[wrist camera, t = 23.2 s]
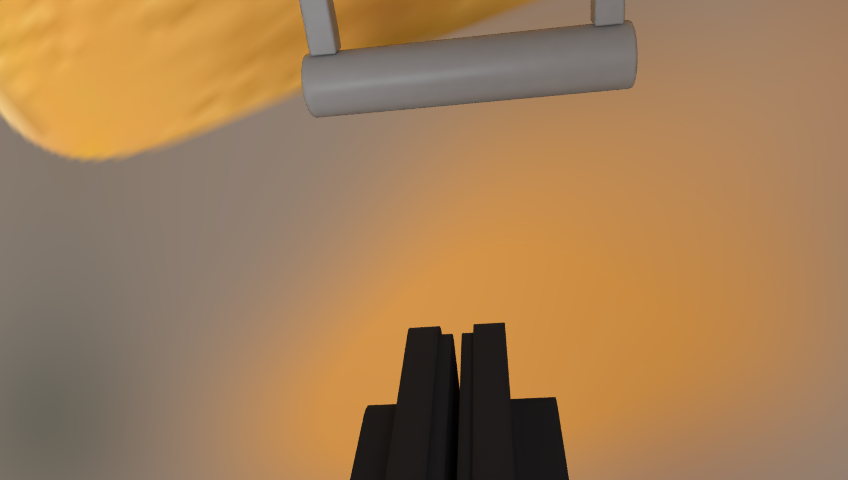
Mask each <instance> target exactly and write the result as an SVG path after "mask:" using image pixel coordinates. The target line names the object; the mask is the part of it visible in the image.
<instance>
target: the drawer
mask: <svg viewBox="0 0 848 480" xmlns="http://www.w3.org/2000/svg"><path fill="white" fill-rule="evenodd" d="M299 2H300V7H301V12H302V17H303V22H304V27H305V32H306V37H307V43H308V48H309V53H310V54H307V55H305V56H304V58H303V61H302V69H301V79H302V88H303V94H304V98H305V102H306V105H307V107H308V110H309V112H310V114H311V115H312V116H313V117H317V118H318V117H328V116H338V115H348V114H361V113H371V112H382V111H393V110H404V109H415V108H425V107H436V106H447V105H458V104H468V103H479V102H490V101H500V100H511V99H522V98H533V97H544V96H554V95H565V94H576V93H587V92H598V91H608V90H619V89H629V88H631V87H632V86H633V85H634V82H635V78H636V72H637V41H636V34H635V29H634V26H633V24H632V22H631V21H629V20H624V18H625V0H591V21H592V22H593V24H586V25H577V26H568V27H558V28H548V29H539V30H529V31H520V32H510V33H501V34H491V35H482V36H472V37H463V38H453V39H444V40H434V41H425V42H415V43H406V44H396V45H387V46H377V47H368V48H358V49H349V50H339V49H340V48H341V43H340V38H339V32H338V26H337V20H336V15H335V9H334V3H333V0H299ZM338 50H339V51H338Z"/></svg>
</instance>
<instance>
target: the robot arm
mask: <svg viewBox="0 0 848 480" xmlns="http://www.w3.org/2000/svg"><path fill="white" fill-rule="evenodd" d="M460 374H461V375H460V388H459V380H458V372H457V363H456V355H455V346H454V339H453V334H442V332H441V328H440V326H437V327H421V328H409V329H408V334H407V341H406V347H405V353H404V360H403V367H402V373H401V380H400V386H399V392H398V399H397V404H391V405H368V406H367V408H366V410H365V414H364V417H363V423H362V427H361V431H360V436H359V441H358V446H357V450H356V455H355V459H354V464H353V469H352V473H351V478H350V480H569V477H568V470H567V464H566V458H565V451H564V445H563V439H562V432H561V425H560V419H559V413H558V406H557V401H556V398H555V397H548V398H526V399H510V386H509V372H508V359H507V347H506V333H505V323H490V324H474V329H473V333H463V334H462V344H461V373H460Z"/></svg>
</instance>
